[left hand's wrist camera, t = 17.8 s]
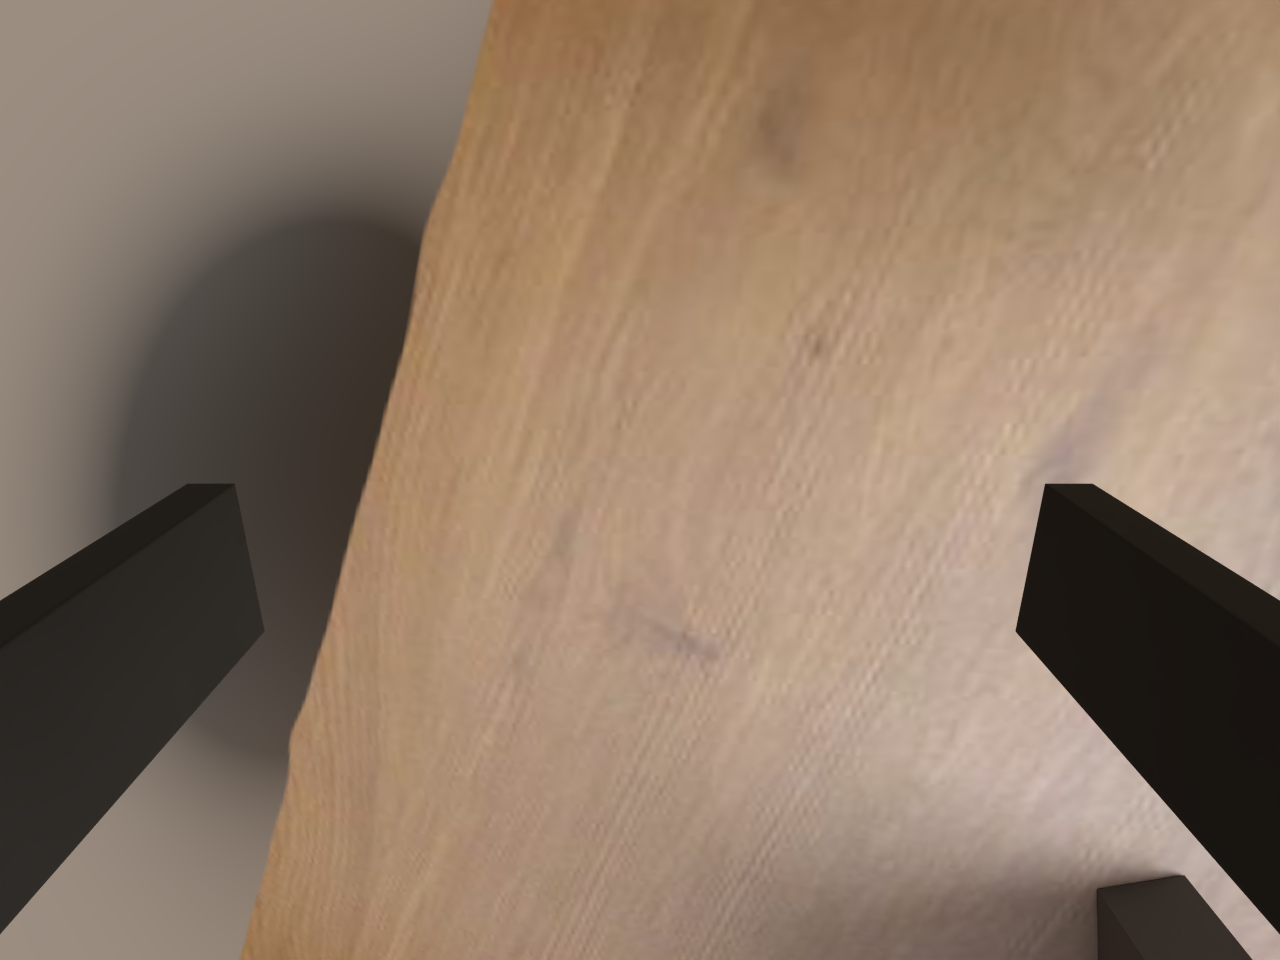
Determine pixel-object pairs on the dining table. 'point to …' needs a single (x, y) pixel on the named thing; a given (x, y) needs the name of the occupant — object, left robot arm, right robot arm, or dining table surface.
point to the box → (1161, 924)
